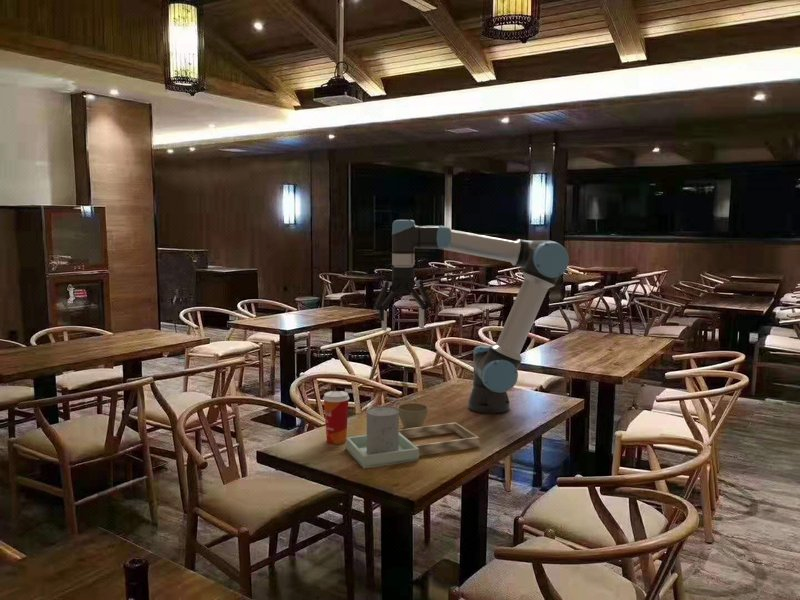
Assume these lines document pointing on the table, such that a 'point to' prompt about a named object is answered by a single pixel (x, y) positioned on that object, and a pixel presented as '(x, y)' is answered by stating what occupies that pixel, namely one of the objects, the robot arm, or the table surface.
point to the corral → (445, 446)
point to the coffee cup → (336, 416)
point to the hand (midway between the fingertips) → (402, 329)
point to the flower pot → (412, 414)
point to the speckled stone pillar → (382, 430)
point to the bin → (359, 448)
